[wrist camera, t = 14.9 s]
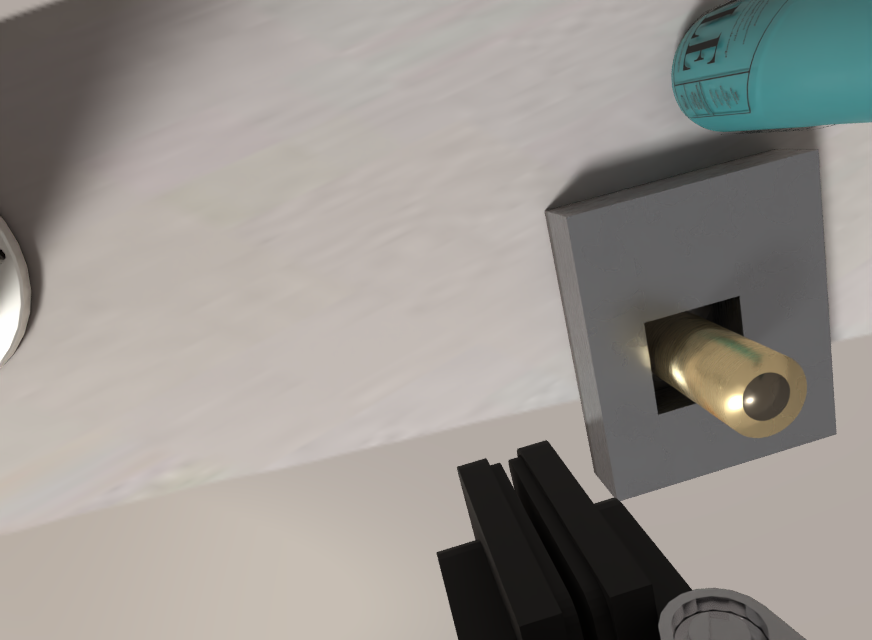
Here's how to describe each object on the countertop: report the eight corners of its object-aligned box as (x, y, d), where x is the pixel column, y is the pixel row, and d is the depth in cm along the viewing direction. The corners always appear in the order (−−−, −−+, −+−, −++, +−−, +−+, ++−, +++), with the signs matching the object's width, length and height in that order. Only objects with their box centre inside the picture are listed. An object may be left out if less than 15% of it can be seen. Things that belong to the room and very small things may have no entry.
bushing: (630, 318, 38) (719, 368, 29) (697, 299, 38) (804, 343, 29) (641, 382, 39) (729, 449, 30) (705, 363, 39) (810, 423, 31)
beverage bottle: (746, 142, 36) (1198, 135, 17) (639, 127, 35) (997, 100, 16) (775, 19, 35) (1305, -137, 16) (663, -1, 34) (1091, -196, 15)
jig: (594, 472, 41) (617, 501, 37) (544, 210, 36) (566, 217, 32) (796, 411, 42) (836, 434, 38) (774, 149, 37) (818, 149, 33)
